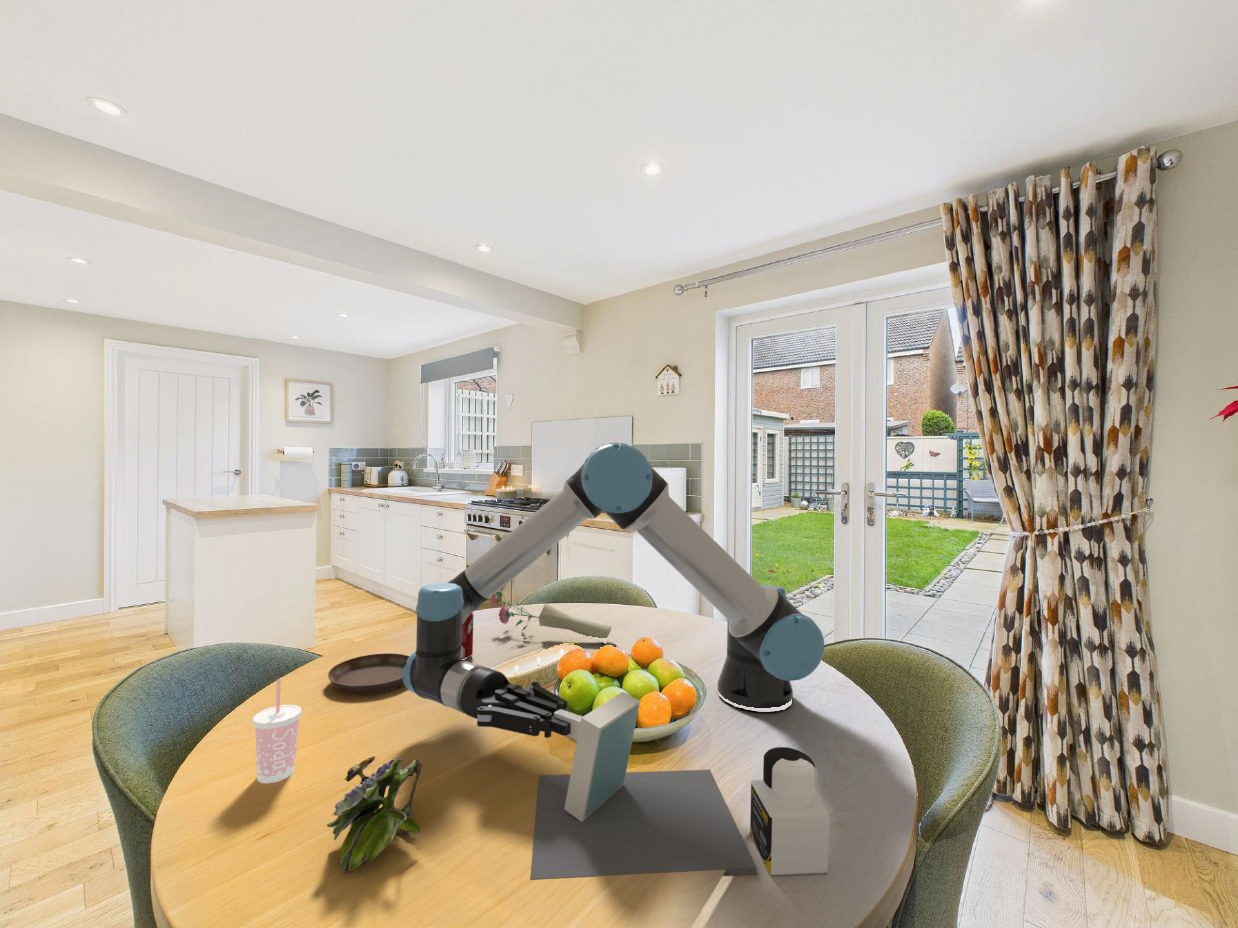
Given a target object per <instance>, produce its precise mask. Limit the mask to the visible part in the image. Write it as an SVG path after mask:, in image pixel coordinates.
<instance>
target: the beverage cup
mask: <svg viewBox="0 0 1238 928" xmlns="http://www.w3.org/2000/svg"><path fill="white" fill-rule="evenodd" d="M281 683H282V682H281V679H280V678H278V679H277V680H276V692H275V693H276V695H275V696H276V697H275V698H276V700H275V706H273V707H272V706H271V707H268V708H266V709H263V710H261V711H259V712H257V713H256V714H255V715H254V716H253V717H252V725H253V727H254V729H255V730H254V731H255V732H254V733H255V753H256V755H255V757H256V778H257V782H259V783H260V784H271V783H272V784H273V783H278V782H281V781H283V780H285V779H287V778H289V777H290V776H292V775H293V773H294V771H295V763H296V755H297V744H298V742H297V741H298V733H299V722H300V718H301V716H302V712H303V710H302V707H301V706H299V705H296V704H282V705H281Z"/></svg>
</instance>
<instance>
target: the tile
mask: <svg viewBox="0 0 1238 928" xmlns="http://www.w3.org/2000/svg"><path fill="white" fill-rule="evenodd" d="M640 705H641V700H639V699H638V698H636V697H634V696H632V695H630V694H628V693H627V692H624V691H622V692H620V693H618V694H617V695H615V696H614V697H612V698H610V699H609V700H607V701H606V702H604V703H602V704H601V705H599V706H598V707H596V708H595V709H593V710H591V711H590V712H588V713H586V714H584V715H582V718H581V722H580V727H579V733H578V738H577V740H576V745H575V748H574V749H575V750H574V755H573V760H572V766H571V772H570V774H571V776H570V781H569V786H568V792H567V797H566V802H565V808H564V809H565V810H566V811H567V812H569V813H570V814H572V815H573V816H574V817H576V818H577V819H578V820H580V821H581V822H582V821H584V820H585V819H586V818H587V817H588V816H589V815H590V814H591V813H592V812H594V811H595V810H596V809H597V808H598V807H599V806H600V805H601V804H602V803H604V802H605V801H606V800H607V799H608V798H609V797H610V796H611V795H613V794H614V793H615V792H616V791H617V790H618V789H619V788H620V787H621V786H623V785H624V780H625V775H626V772H627V770H628V765H629V759H630V758H629V757H630V754H631V753H630V752H631V750H632V749H631V748H632V743H633V739H634V733H635V729H636V728H635V727H636V724H637V723H636V722H637V718H638V713H639V708H640Z"/></svg>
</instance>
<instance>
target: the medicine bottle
mask: <svg viewBox="0 0 1238 928" xmlns="http://www.w3.org/2000/svg"><path fill="white" fill-rule="evenodd" d="M762 770H763V771H762V774H763V775H762V779H752V780H751V783H750V813H749V814H750V821H749V822H750V823H749V835H750V837H751V839H752V841H753V844H754V845H755V847H756V850H757V852H758V854H759V856H760V857H761V859H762V862H763V864H764V866H765V869H766V870H767V873H768V874H769V875H770V876H788V875H789V876H791V875H793V876H794V875H812V874H813V875H814V874H815V875H816V874H818V875H819V874H827V873H828V871H829V843H830V842H829V841H830V838H829V837H830V835H829V833H830V831H829V830H830V829H829V828H830V814H829V813H830V812H829V811H828V810H827V809H826V808H825V806H824V805H823V803H822V801H820V799H819V798H818V797H817V795H816V794H815V791H816V790H815V789H816V787H815V786H816V765H815V762H814V761H813V759H812V758H811V757H810V756H809V755H808V754H806V753H805V752H803V751H801V750H798V749H795V748H791V747H786V746H777V747H772V748H770V749H768V750H767V751H766V752H765V753H764V755H763V769H762Z"/></svg>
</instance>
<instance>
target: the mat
mask: <svg viewBox="0 0 1238 928" xmlns="http://www.w3.org/2000/svg"><path fill="white" fill-rule="evenodd" d="M570 776H571V773H570V774H569V773H567V774H566V773H565V774H543V775H542V774H540V775H538V783H537V795H536V796H537V797H536V805H535V806H536V807H535V819H534V830H533V831H534V832H533V842H532V852H531V853H532V855H531V863H530V864H531V865H530V866H531V867H530V874H529V875H530V876H529V880H530V881H531V880H549V879H566V878H568V879H570V878H586V877H590V878H591V877H605V876H606V877H607V876H624V875H627V876H628V875H641V874H642V875H644V874H645V875H647V874H660V873H662V874H663V873H665V874H666V873H681V872H698V871H699V872H700V871H703V872H704V871H716V870H717V871H718V870H725V871H724V872H723V874H722V877H726V876H727V877H728V876H729V877H730V876H746V875H749V876H750V875H757V870H758V869H757V866H756V863H755V861H754V859H753V857H752V855H751V853H750V850H749V848H748V846H747V845H746V842H745V840H744V838H743V837H742V836H743V835H742V834H741V832H740V830H739V828H738V825H737V823H736V821H735V819H734V817H733V815H732V812H731V811H730V808H729V806H728V805H727V802H726V800H725V798H724V796H723V794H722V792H721V790H720V788H719V786H718V783H717V782H716V779H715V777H714V776H713V773H712V771H711V769H689V770H688V769H687V770H684V769H683V770H682V769H681V770H661V771H659V770H658V771H655V770H654V771H632V772H631V771H630V772H629V771H626V775H625V780H624V785H623V786H621V787H620V788H619V789H618V790H617V791H616V792H615V793H614V794H613V795H611V796H610V797H609V798H608V799H607V800H606V801H605V802H604V803H602V804H601V805H600V806H599V807H598V808H597V809H596V810H595V811H594V812H592V813H591V814H590V815H589V816H588V817H587V818H586V819H585V820H584V821H582V822H581V821H580V820H578V819H577V818H576V817H574V816H573V815H572V814H570V813H569V812H567V811H566V810H565V809H564V808H565V802H566V797H567V792H568V786H569V781H570Z"/></svg>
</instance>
